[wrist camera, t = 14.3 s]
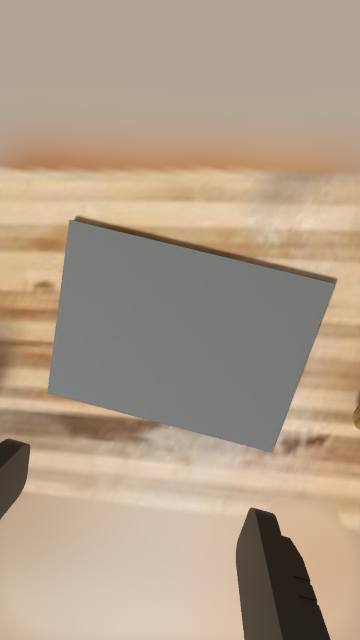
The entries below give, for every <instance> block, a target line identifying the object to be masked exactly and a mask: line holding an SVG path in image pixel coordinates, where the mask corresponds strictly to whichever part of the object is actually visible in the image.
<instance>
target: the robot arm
mask: <svg viewBox="0 0 360 640" xmlns="http://www.w3.org/2000/svg"><path fill="white" fill-rule="evenodd" d="M29 455H30V445H29V444H27V443H23V442H19V441H16V440H12V439H6V440H4V441H3V442H1V443H0V519H1V518H2V516H3V515H4V514H5V513H6V511H7V510H8V509H9V508H10V507H11V505H12V504H13V503H14V502H15V501H16V499H17V498H18V496H19V495H20V493H21V492H22V490H23V488H24V485H25V483H26V479H27V472H28V464H29ZM236 567H237V576H238V584H239V594H240V603H241V612H242V621H243V630H244V639H245V640H330V637H329V634H328V631H327V628H326V625H325V623H324V619H323V616H322V613H321V611H320V608H319V606H318V605H317V599H316V596H315V593H314V590H313V587H312V585H310V579H309V576H308V573H307V570H306V567H305V564H304V561H303V558H302V557H301V555H300V553H299V552H298V550H297V549H296V547H295V545H294V544H293V542H292V541H291V539H290V538H288V537H284V536H282V535H281V532H280V528H279V525H278V522H277V519H276V516H275V515H274V514H273V513H270V512H266V511H262V510H259V509H255V508H250V509H249V512H248V514H247V517H246V520H245V523H244V525H243V528H242V530H241V533H240V536H239V538H238V542H237V548H236Z"/></svg>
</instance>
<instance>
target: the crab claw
mask: <svg viewBox="0 0 360 640" xmlns="http://www.w3.org/2000/svg"><path fill="white" fill-rule="evenodd" d="M353 420H354V425H355V426H356V427H357V428H358V429H360V406H359V407H358V408H357V409H356V410H355V411H354V414H353Z"/></svg>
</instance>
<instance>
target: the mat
mask: <svg viewBox="0 0 360 640" xmlns="http://www.w3.org/2000/svg"><path fill="white" fill-rule="evenodd" d="M334 286H335V284H334V283H330V282H326V281H322V280H317V279H313V278H309V277H305V276H301V275H297V274H293V273H288V272H284V271H280V270H276V269H272V268H268V267H264V266H259V265H255V264H251V263H247V262H243V261H239V260H235V259H230V258H226V257H222V256H218V255H214V254H210V253H206V252H201V251H197V250H193V249H189V248H185V247H181V246H177V245H172V244H168V243H164V242H160V241H156V240H152V239H148V238H143V237H139V236H135V235H131V234H127V233H123V232H119V231H114V230H110V229H106V228H102V227H98V226H94V225H90V224H85V223H81V222H77V221H73V220H69V228H68V236H67V244H66V252H65V259H64V267H63V275H62V283H61V291H60V299H59V306H58V314H57V322H56V330H55V338H54V345H53V353H52V361H51V369H50V377H49V385H48V392H47V393H48V394H52V395H56V396H60V397H64V398H67V399H71V400H75V401H79V402H83V403H86V404H90V405H94V406H98V407H102V408H105V409H109V410H113V411H117V412H121V413H124V414H128V415H132V416H136V417H140V418H143V419H147V420H151V421H155V422H159V423H162V424H166V425H170V426H174V427H178V428H181V429H185V430H189V431H193V432H197V433H200V434H204V435H208V436H212V437H216V438H219V439H223V440H227V441H231V442H235V443H238V444H242V445H246V446H250V447H254V448H257V449H261V450H265V451H269V452H272V451H273V448H274V445H275V443H276V440H277V438H278V435H279V432H280V430H281V427H282V424H283V422H284V419H285V416H286V414H287V411H288V408H289V406H290V403H291V400H292V398H293V395H294V392H295V390H296V387H297V384H298V382H299V379H300V376H301V374H302V371H303V368H304V366H305V363H306V360H307V358H308V355H309V352H310V350H311V347H312V344H313V342H314V339H315V337H316V334H317V331H318V329H319V326H320V323H321V321H322V318H323V315H324V313H325V310H326V307H327V305H328V302H329V299H330V297H331V294H332V291H333V289H334Z"/></svg>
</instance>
